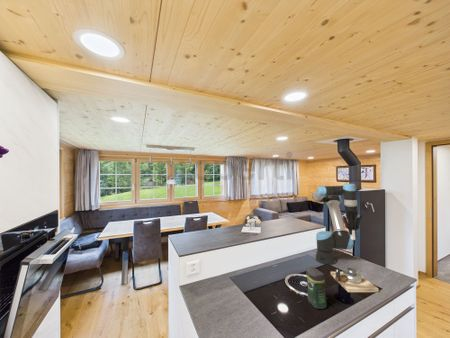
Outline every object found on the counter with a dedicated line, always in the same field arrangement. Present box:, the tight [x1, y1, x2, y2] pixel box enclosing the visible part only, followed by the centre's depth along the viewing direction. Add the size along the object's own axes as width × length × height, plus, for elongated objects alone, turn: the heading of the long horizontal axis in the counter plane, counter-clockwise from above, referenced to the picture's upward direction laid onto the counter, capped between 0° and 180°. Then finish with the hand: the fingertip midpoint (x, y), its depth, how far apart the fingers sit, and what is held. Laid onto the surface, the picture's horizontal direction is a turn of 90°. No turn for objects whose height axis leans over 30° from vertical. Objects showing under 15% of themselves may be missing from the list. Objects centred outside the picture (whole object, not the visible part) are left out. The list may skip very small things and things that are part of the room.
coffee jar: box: [305, 267, 328, 310], centre depth 102 cm, size 10×8×19 cm
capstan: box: [334, 267, 362, 283], centre depth 119 cm, size 18×10×8 cm, turn 102°
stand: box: [330, 271, 380, 293], centre depth 120 cm, size 20×18×2 cm
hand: (353, 239), depth 126 cm, fingers closed
